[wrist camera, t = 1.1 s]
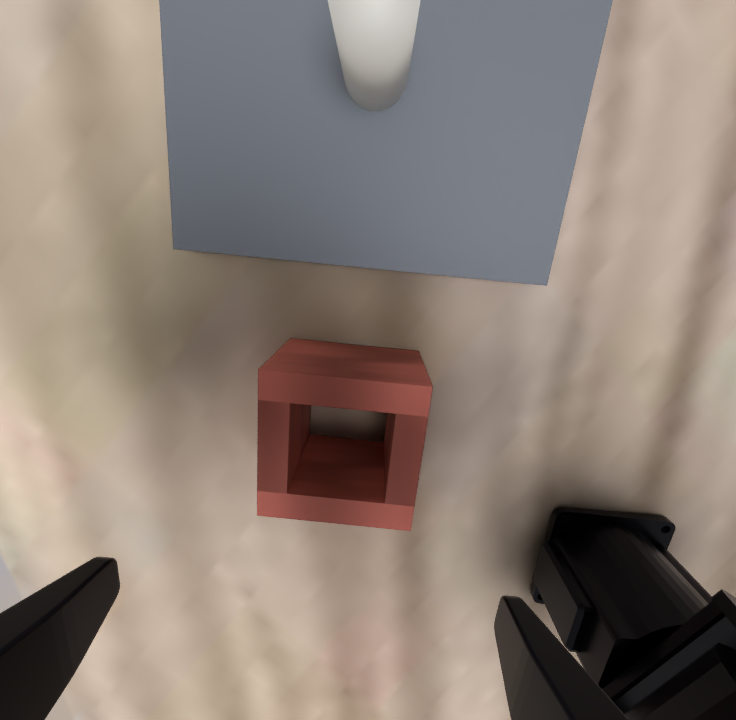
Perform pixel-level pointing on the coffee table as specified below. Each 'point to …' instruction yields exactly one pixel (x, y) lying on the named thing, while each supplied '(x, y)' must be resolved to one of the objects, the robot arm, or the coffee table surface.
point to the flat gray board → (378, 129)
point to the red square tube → (333, 454)
